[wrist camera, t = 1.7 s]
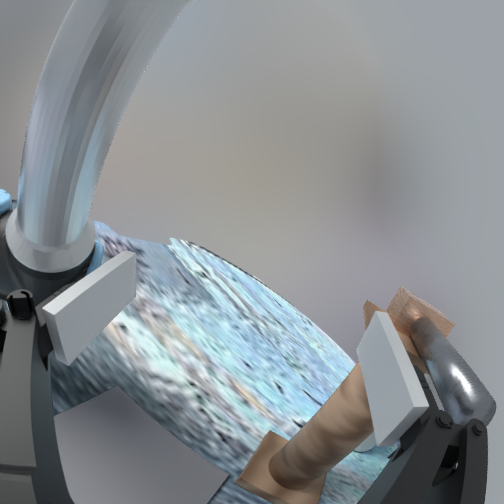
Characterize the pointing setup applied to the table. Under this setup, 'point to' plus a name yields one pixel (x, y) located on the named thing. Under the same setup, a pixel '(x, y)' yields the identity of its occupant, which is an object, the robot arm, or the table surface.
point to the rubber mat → (129, 456)
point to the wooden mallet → (441, 358)
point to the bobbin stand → (317, 440)
